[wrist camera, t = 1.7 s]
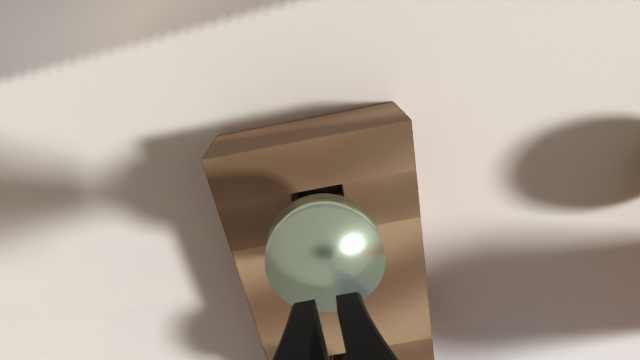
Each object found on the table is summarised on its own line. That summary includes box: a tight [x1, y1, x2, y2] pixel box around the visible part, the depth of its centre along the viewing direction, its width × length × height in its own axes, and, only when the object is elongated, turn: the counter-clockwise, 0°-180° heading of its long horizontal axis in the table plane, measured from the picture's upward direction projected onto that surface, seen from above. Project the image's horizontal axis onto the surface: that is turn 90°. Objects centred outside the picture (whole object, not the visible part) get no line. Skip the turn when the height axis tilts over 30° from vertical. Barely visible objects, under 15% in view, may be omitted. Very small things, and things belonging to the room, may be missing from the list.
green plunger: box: [265, 193, 386, 312], centre depth 16 cm, size 4×4×4 cm
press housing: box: [201, 102, 434, 360], centre depth 22 cm, size 17×9×4 cm, turn 11°
